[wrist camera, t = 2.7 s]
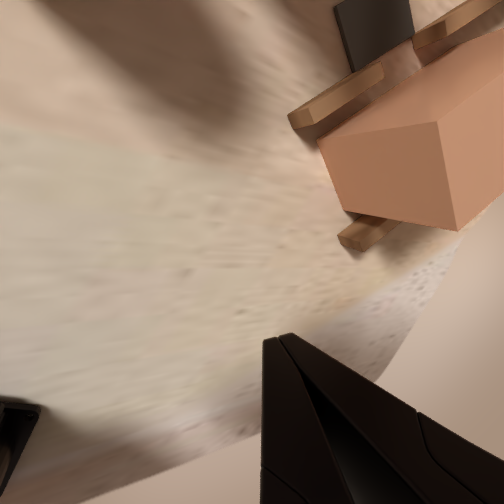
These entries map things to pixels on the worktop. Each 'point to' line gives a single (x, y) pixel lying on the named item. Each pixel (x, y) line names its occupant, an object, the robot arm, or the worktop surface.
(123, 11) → the worktop surface
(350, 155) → the brick
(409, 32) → the lane
